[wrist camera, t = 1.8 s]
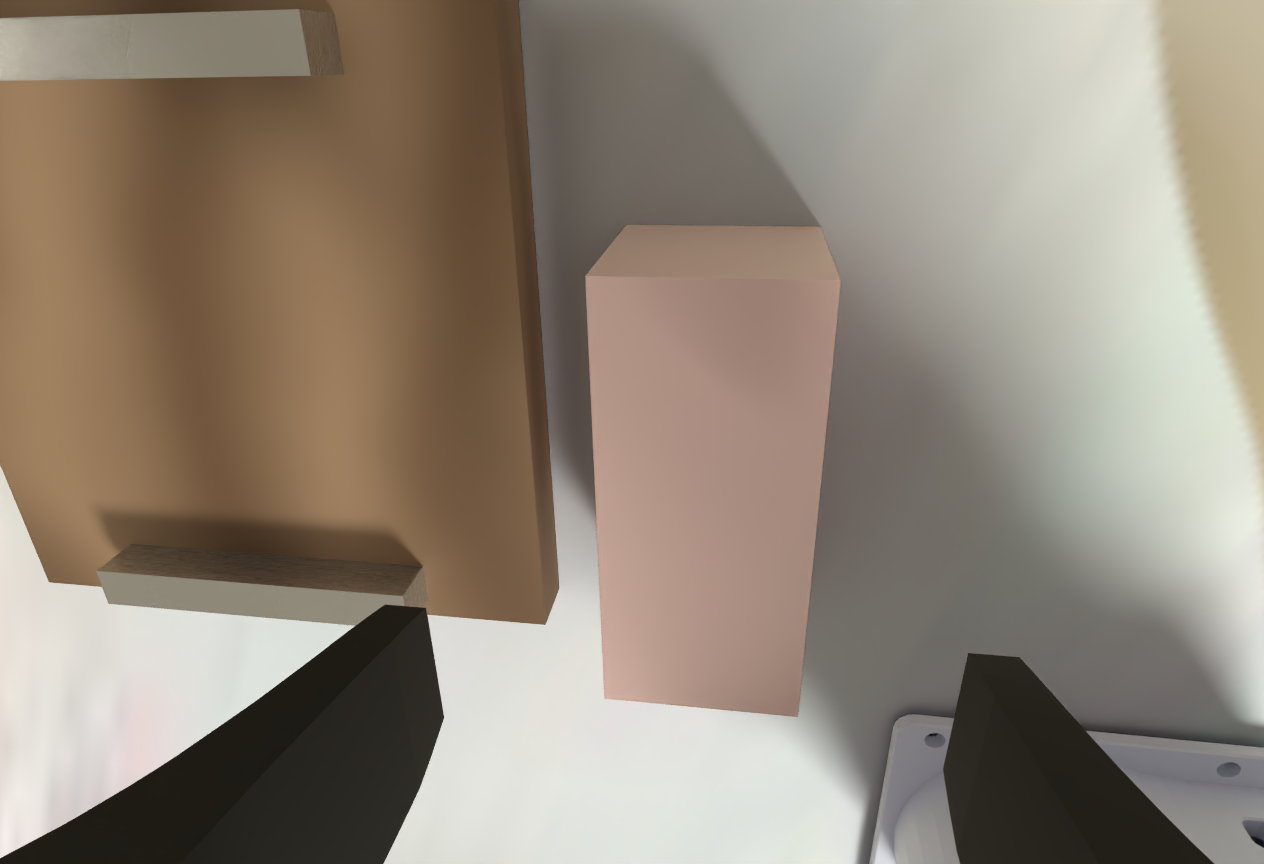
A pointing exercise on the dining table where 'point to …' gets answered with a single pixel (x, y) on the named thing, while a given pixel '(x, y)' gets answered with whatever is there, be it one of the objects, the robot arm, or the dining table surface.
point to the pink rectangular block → (709, 457)
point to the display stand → (274, 306)
